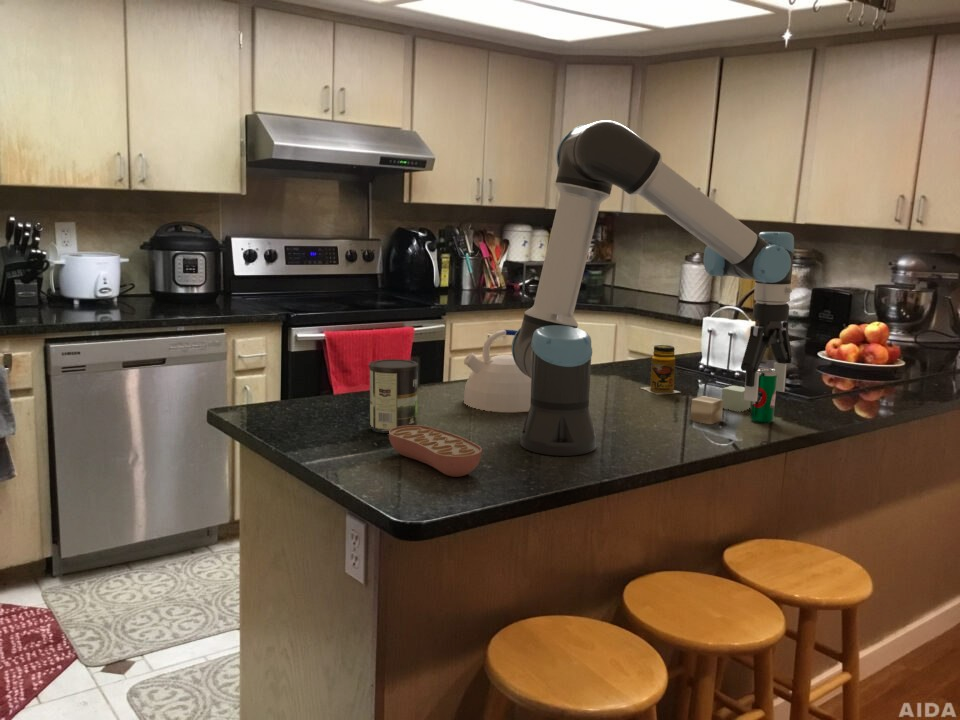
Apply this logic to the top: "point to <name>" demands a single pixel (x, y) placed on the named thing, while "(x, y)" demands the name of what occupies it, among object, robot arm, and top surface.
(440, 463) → the anatomical model
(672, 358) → the condiment
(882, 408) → the top surface
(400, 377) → the coffee can
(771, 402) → the soda can
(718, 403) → the maple block
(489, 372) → the kettle
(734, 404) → the sage block
